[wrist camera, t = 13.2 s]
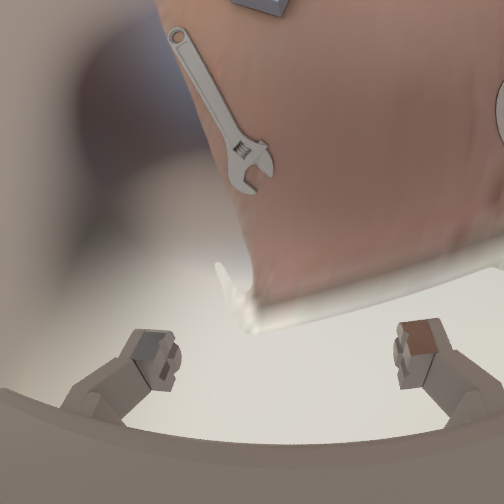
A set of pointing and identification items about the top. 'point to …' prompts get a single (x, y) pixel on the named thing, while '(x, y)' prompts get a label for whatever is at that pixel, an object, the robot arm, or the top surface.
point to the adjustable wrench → (223, 117)
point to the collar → (264, 5)
